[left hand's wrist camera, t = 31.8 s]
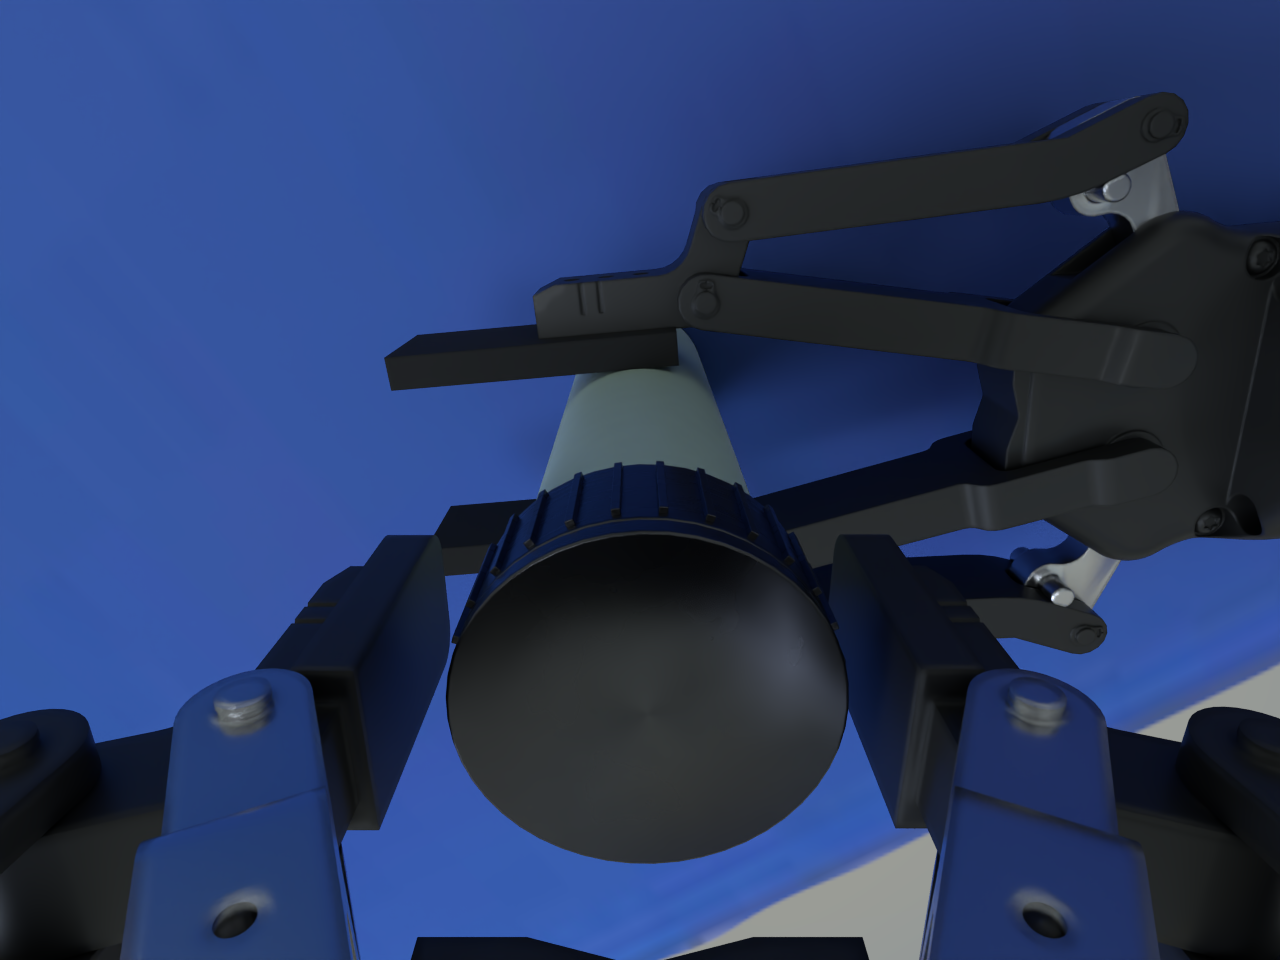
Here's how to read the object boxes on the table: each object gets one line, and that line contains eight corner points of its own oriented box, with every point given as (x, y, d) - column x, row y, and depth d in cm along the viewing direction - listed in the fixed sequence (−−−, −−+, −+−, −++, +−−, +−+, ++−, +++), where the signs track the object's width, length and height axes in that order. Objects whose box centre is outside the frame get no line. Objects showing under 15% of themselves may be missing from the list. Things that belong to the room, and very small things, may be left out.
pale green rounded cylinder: (640, 455, 26) (646, 828, 11) (554, 374, 25) (429, 662, 10) (726, 374, 25) (863, 661, 10) (640, 286, 24) (647, 457, 9)
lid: (808, 747, 12) (843, 863, 10) (494, 758, 12) (466, 875, 10) (823, 450, 10) (870, 517, 8) (454, 465, 10) (409, 534, 8)
